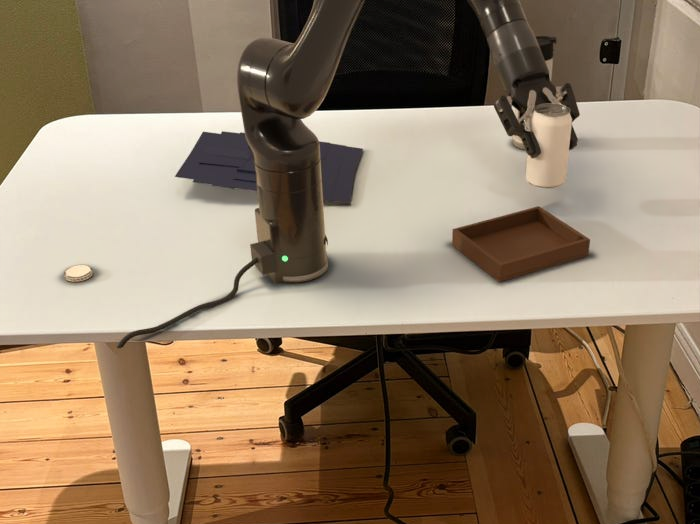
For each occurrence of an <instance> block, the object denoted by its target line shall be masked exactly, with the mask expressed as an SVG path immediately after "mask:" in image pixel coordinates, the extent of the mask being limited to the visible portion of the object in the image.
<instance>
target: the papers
mask: <svg viewBox="0 0 700 524" xmlns="http://www.w3.org/2000/svg"><path fill="white" fill-rule="evenodd" d="M318 141H319V140H318ZM319 145H320V159H321V175H322V191H323V202H324V201H325V202H334V203H342V204H351V200H352V199H351V197H352V192H353V186H354V185H353V184H354V178H355V177H354V176H355V173H356V170H357V167H358V165H359V162H360V160H361V156H362V153H363V151H364V148H361V147H354V146H348V145H345V144H338V143H331V142H328V141H327V142H326V141H319ZM174 178H178V179H179V178H180V179H186V180H192V183H195V184H196V183H197V184H204V185H209V186H212V187H216V188H217V187H218V188H223V189H224V188H225V189H232V190H235V189H237V190H244V191H252V192H257V185H256V175H255V166H254V157H253V152H252V150H251V148H250V146H249V144H248V142H247V140H246V136H245V132H234V131H233V132H231V131H225V130H224V131H223V130H222V131H221V132H220V133H217V132H210V131H202V133H201V134H200V135H199V137H198V139H197V140H196V143H195V144H194V146H193V148H192V149H191V151H190V153H189V154H188V156H187V157H186V158H185V160H184V161H183V163H182V165H181V166H180V167H179V169H178V170H177V172H176V173H175V175H174Z"/></svg>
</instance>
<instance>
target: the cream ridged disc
mask: <svg viewBox="0 0 700 524" xmlns="http://www.w3.org/2000/svg"><path fill="white" fill-rule="evenodd" d="M93 273H94V272H93V268H92V267H91V266H90V265H89V264H88V265H87V264H77V265H72V266H69V267H68V268H66V269H65V270H64V271H63V275H64V279H65V280H66V281H68V282H73V283H74V282H83V281H85V280H88V279H90V278H91V277H92V276H93V275H94V274H93Z"/></svg>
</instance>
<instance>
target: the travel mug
mask: <svg viewBox="0 0 700 524" xmlns="http://www.w3.org/2000/svg"><path fill="white" fill-rule="evenodd" d="M535 37H536V39H537V42H538V45H539V47H540V50H541V52H542V55H543V57H544V60H545V62H546V65H547V67H548V70H549V78H550V81H551V82H552V75H553V65H554V45H556V44H557V37H556V36H548V35H538V36H536V35H535ZM514 114H515V116H516V118H517V120H518V110H517V109H516V108H514ZM512 144H513V145H514V146H515V147H516V148H518V149H519V150H525V151H526V149H525V147H524V145H523V142H522V140H521V138H520V137H519V136H515V135H513V136H512Z"/></svg>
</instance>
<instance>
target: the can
mask: <svg viewBox="0 0 700 524" xmlns="http://www.w3.org/2000/svg"><path fill="white" fill-rule="evenodd" d="M534 110H535V111H534V113H533V116H532V118H531V124H532V128H531V132H532V131H533V133H534V135H535V137H536V139H537V142H538V144H539V147H540V149H541V154H540V155H539V156H538V157H536V158H531V157H530V155H528V154H527V160H526V169H525V180H526V181H527V183H528V184H530V185H531V186H534V187H536V188H542V189H554V188H558V187H560V186H562V185H563V184H564V183H566V179H567V171H568V162H569V153H570V150H569V145H570V136H571V126H573V122H572V118H571V115H570V108H569V107H567V106H565V105H562V104H557V103H544V104H539V105H537V106H535V108H534Z"/></svg>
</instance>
